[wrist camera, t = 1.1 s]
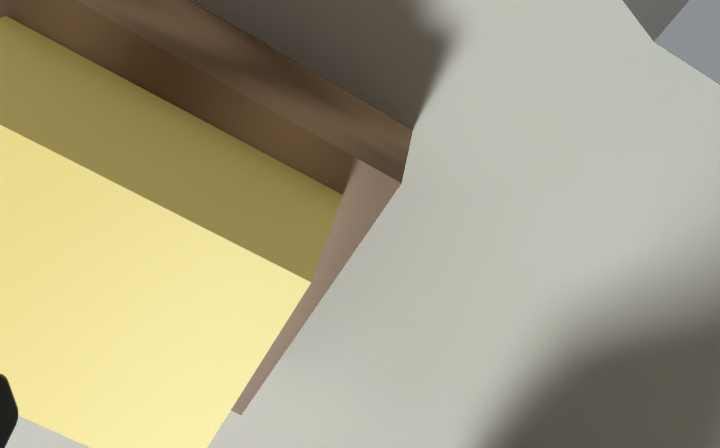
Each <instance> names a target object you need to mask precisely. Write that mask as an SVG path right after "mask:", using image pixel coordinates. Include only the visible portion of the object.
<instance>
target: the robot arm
mask: <svg viewBox="0 0 720 448" xmlns="http://www.w3.org/2000/svg"><path fill="white" fill-rule="evenodd" d="M17 420H18V407H17V404H16V401H15V398H14V395H13V393H12V390H11V387H10V384H9V381H8V379H7V378H6V376H4V375H3V374H0V448H5V446H6V444H7V442H8V440H9V438H10V436H11V434H12V432H13V430H14V428H15V426H16V423H17Z"/></svg>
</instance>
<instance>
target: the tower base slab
mask: <svg viewBox="0 0 720 448" xmlns="http://www.w3.org/2000/svg"><path fill="white" fill-rule="evenodd" d="M4 16H7V17H9V18H11V19H13V20H15V21H17V22H19V23H21V24H22V25H24V26H26V27H28V28H30V29H32V30H34V31H36V32H38V33H39V34H41V35H43V36H45V37H47V38H49V39H51V40H53V41H54V42H56V43H58V44H60V45H62V46H64V47H66V48H68V49H69V50H71V51H73V52H75V53H77V54H79V55H81V56H83V57H85V58H86V59H88V60H90V61H92V62H94V63H96V64H98V65H100V66H101V67H103V68H105V69H107V70H109V71H111V72H113V73H115V74H116V75H118V76H120V77H122V78H124V79H126V80H128V81H130V82H131V83H133V84H135V85H137V86H139V87H141V88H143V89H145V90H147V91H148V92H150V93H152V94H154V95H156V96H158V97H160V98H162V99H163V100H165V101H167V102H169V103H171V104H173V105H175V106H177V107H178V108H180V109H182V110H184V111H186V112H188V113H190V114H192V115H193V116H195V117H197V118H199V119H201V120H203V121H205V122H207V123H209V124H210V125H212V126H214V127H216V128H218V129H220V130H222V131H224V132H225V133H227V134H229V135H231V136H233V137H235V138H237V139H239V140H240V141H242V142H244V143H246V144H248V145H250V146H252V147H254V148H256V149H257V150H259V151H261V152H263V153H265V154H267V155H269V156H271V157H272V158H274V159H276V160H278V161H280V162H282V163H284V164H286V165H287V166H289V167H291V168H293V169H295V170H297V171H299V172H301V173H302V174H304V175H306V176H308V177H310V178H312V179H314V180H316V181H318V182H319V183H321V184H323V185H325V186H327V187H329V188H331V189H333V190H334V191H336V192H338V193H340V194H342V195H343V196H342V199H341V202H340V205H339V207H338V210H337V213H336V216H335V219H334V221H333V224H332V227H331V230H330V232H329V235H328V238H327V241H326V243H325V246H324V249H323V252H322V254H321V257H320V260H319V263H318V266H317V268H316V271H315V274H314V277H313V279H312V282H311V284H310V285H309V287H308V289H307V290H306V292H305V293H304V295H303V297H302V298H301V300H300V301H299V303H298V304H297V306H296V308H295V309H294V311H293V312H292V314H291V316H290V317H289V319H288V320H287V322H286V323H285V325H284V327H283V328H282V330H281V331H280V333H279V335H278V336H277V338H276V339H275V341H274V342H273V344H272V346H271V347H270V349H269V350H268V352H267V354H266V355H265V357H264V358H263V360H262V361H261V363H260V365H259V366H258V368H257V369H256V371H255V373H254V374H253V376H252V377H251V379H250V380H249V382H248V384H247V385H246V387H245V388H244V390H243V392H242V393H241V395H240V396H239V398H238V399H237V401H236V403H235V404H234V406H233V407H232V409H231V410H232V411H234V412H236V413H238V414H240V415H242V413H243V412H244V410H245V409H246V407H247V406H248V405H249V403H250V402H251V400H252V399H253V397H254V396H255V394H256V393H257V391H258V390H259V389H260V387H261V386H262V384H263V383H264V381H265V380H266V378H267V377H268V376H269V374H270V373H271V371H272V370H273V368H274V367H275V365H276V364H277V363H278V361H279V360H280V358H281V357H282V355H283V354H284V352H285V351H286V350H287V348H288V347H289V345H290V344H291V342H292V341H293V339H294V338H295V336H296V335H297V334H298V332H299V331H300V329H301V328H302V326H303V325H304V323H305V322H306V321H307V319H308V318H309V316H310V315H311V313H312V312H313V310H314V309H315V308H316V306H317V305H318V303H319V302H320V300H321V299H322V297H323V296H324V294H325V293H326V292H327V290H328V289H329V287H330V286H331V284H332V283H333V281H334V280H335V279H336V277H337V276H338V274H339V273H340V271H341V270H342V268H343V267H344V266H345V264H346V263H347V261H348V260H349V258H350V257H351V255H352V254H353V253H354V251H355V250H356V248H357V247H358V245H359V244H360V242H361V241H362V239H363V238H364V237H365V235H366V234H367V232H368V231H369V229H370V228H371V226H372V225H373V224H374V222H375V221H376V219H377V218H378V216H379V215H380V213H381V212H382V211H383V209H384V208H385V206H386V205H387V203H388V202H389V200H390V199H391V198H392V196H393V195H394V193H395V192H396V190H397V189H398V187H399V186H400V184H401V183H402V178H403V173H404V169H405V164H406V159H407V155H408V150H409V145H410V141H411V136H412V131H413V130H412V129H411V128H409V127H407V126H406V125H404V124H402V123H400V122H399V121H397V120H395V119H393V118H392V117H390V116H388V115H387V114H385V113H383V112H381V111H380V110H378V109H376V108H375V107H373V106H371V105H369V104H368V103H366V102H364V101H362V100H361V99H359V98H357V97H356V96H354V95H352V94H350V93H349V92H347V91H345V90H344V89H342V88H340V87H338V86H337V85H335V84H333V83H331V82H330V81H328V80H326V79H325V78H323V77H321V76H319V75H318V74H316V73H314V72H313V71H311V70H309V69H307V68H306V67H304V66H302V65H300V64H299V63H297V62H295V61H294V60H292V59H290V58H288V57H287V56H285V55H283V54H282V53H280V52H278V51H276V50H275V49H273V48H271V47H269V46H268V45H266V44H264V43H263V42H261V41H259V40H257V39H256V38H254V37H252V36H251V35H249V34H247V33H245V32H244V31H242V30H240V29H238V28H237V27H235V26H233V25H232V24H230V23H228V22H226V21H225V20H223V19H221V18H220V17H218V16H216V15H214V14H213V13H211V12H209V11H207V10H206V9H204V8H202V7H201V6H199V5H197V4H195V3H194V2H192V1H190V0H0V18H2V17H4Z"/></svg>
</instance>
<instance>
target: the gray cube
mask: <svg viewBox="0 0 720 448" xmlns="http://www.w3.org/2000/svg"><path fill="white" fill-rule="evenodd" d="M623 1H624V3H625V4H626V5H627V7H628V8H629V9H630V11H631V12H632V13H633V15H634V16H635V17H636V19H637V20H638V21H639V23H640V24H641V25H642V27H643V28H644V29H645V30H646V32H647V33H648V34H649V36H650V37H651V38H652V40H653V41H654V42H655V43H657V44H658V45H660V46H661V47H663V48H664V49H666V50H667V51H669V52H671V53H672V54H674V55H675V56H677V57H678V58H680V59H681V60H683V61H684V62H686V63H687V64H689V65H691V66H692V67H694V68H695V69H697V70H698V71H700V72H701V73H703V74H704V75H706V76H707V77H709V78H711V79H712V80H714V81H715V82H717V83H718V84H720V0H623Z"/></svg>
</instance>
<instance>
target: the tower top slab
mask: <svg viewBox="0 0 720 448" xmlns="http://www.w3.org/2000/svg"><path fill="white" fill-rule="evenodd" d="M342 196H343V195H342V194H340V193H338V192H336V191H334V190H333V189H331V188H329V187H327V186H325V185H323V184H321V183H319V182H318V181H316V180H314V179H312V178H310V177H308V176H306V175H304V174H302V173H301V172H299V171H297V170H295V169H293V168H291V167H289V166H287V165H286V164H284V163H282V162H280V161H278V160H276V159H274V158H272V157H271V156H269V155H267V154H265V153H263V152H261V151H259V150H257V149H256V148H254V147H252V146H250V145H248V144H246V143H244V142H242V141H240V140H239V139H237V138H235V137H233V136H231V135H229V134H227V133H225V132H224V131H222V130H220V129H218V128H216V127H214V126H212V125H210V124H209V123H207V122H205V121H203V120H201V119H199V118H197V117H195V116H193V115H192V114H190V113H188V112H186V111H184V110H182V109H180V108H178V107H177V106H175V105H173V104H171V103H169V102H167V101H165V100H163V99H162V98H160V97H158V96H156V95H154V94H152V93H150V92H148V91H147V90H145V89H143V88H141V87H139V86H137V85H135V84H133V83H131V82H130V81H128V80H126V79H124V78H122V77H120V76H118V75H116V74H115V73H113V72H111V71H109V70H107V69H105V68H103V67H101V66H100V65H98V64H96V63H94V62H92V61H90V60H88V59H86V58H85V57H83V56H81V55H79V54H77V53H75V52H73V51H71V50H69V49H68V48H66V47H64V46H62V45H60V44H58V43H56V42H54V41H53V40H51V39H49V38H47V37H45V36H43V35H41V34H39V33H38V32H36V31H34V30H32V29H30V28H28V27H26V26H24V25H22V24H21V23H19V22H17V21H15V20H13V19H11V18H9V17H7V16H4V17H2V18H0V374H3V375H4V376H6V378H7V379H8V381H9V384H10V387H11V390H12V393H13V395H14V398H15V401H16V404H17V407H18V416H20V417H23V418H25V419H27V420H29V421H32V422H34V423H36V424H38V425H41V426H43V427H45V428H47V429H50V430H52V431H54V432H57V433H59V434H61V435H63V436H66V437H68V438H70V439H72V440H75V441H77V442H79V443H81V444H84V445H86V446H88V447H90V448H207V447H208V445H209V444H210V442H211V441H212V439H213V437H214V436H215V434H216V433H217V431H218V430H219V428H220V426H221V425H222V423H223V422H224V420H225V418H226V417H227V415H228V414H229V412H230V411H231V409H232V407H233V406H234V404H235V403H236V401H237V399H238V398H239V396H240V395H241V393H242V392H243V390H244V388H245V387H246V385H247V384H248V382H249V380H250V379H251V377H252V376H253V374H254V373H255V371H256V369H257V368H258V366H259V365H260V363H261V361H262V360H263V358H264V357H265V355H266V354H267V352H268V350H269V349H270V347H271V346H272V344H273V342H274V341H275V339H276V338H277V336H278V335H279V333H280V331H281V330H282V328H283V327H284V325H285V323H286V322H287V320H288V319H289V317H290V316H291V314H292V312H293V311H294V309H295V308H296V306H297V304H298V303H299V301H300V300H301V298H302V297H303V295H304V293H305V292H306V290H307V289H308V287H309V285H310V284H311V282H312V279H313V277H314V274H315V271H316V268H317V266H318V263H319V260H320V257H321V254H322V252H323V249H324V246H325V243H326V241H327V238H328V235H329V232H330V230H331V227H332V224H333V221H334V219H335V216H336V213H337V210H338V207H339V205H340V202H341V199H342Z"/></svg>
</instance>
